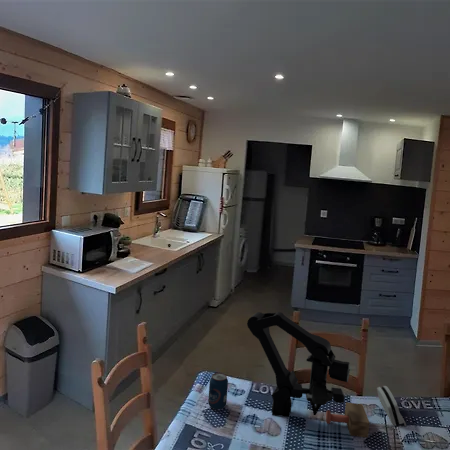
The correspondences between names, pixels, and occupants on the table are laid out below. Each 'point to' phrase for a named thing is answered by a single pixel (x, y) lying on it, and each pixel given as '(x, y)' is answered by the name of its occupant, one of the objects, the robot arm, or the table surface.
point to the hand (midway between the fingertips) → (314, 414)
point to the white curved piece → (390, 405)
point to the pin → (336, 418)
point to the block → (357, 420)
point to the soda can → (218, 391)
